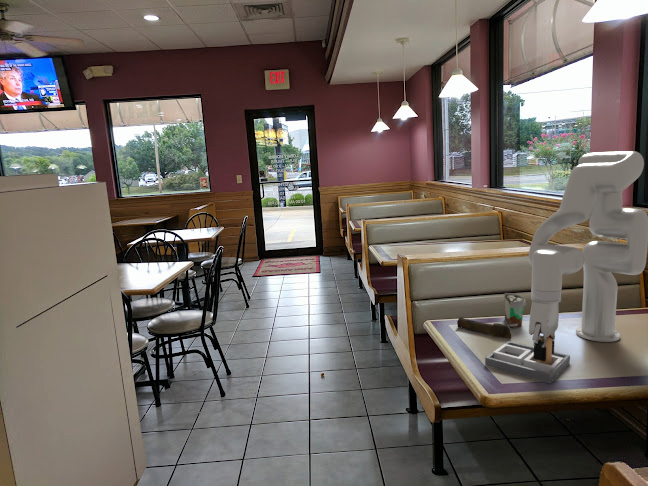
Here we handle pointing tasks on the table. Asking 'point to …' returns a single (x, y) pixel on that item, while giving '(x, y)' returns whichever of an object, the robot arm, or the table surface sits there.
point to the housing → (526, 362)
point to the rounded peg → (547, 351)
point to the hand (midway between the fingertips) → (543, 355)
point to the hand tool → (485, 328)
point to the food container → (514, 309)
